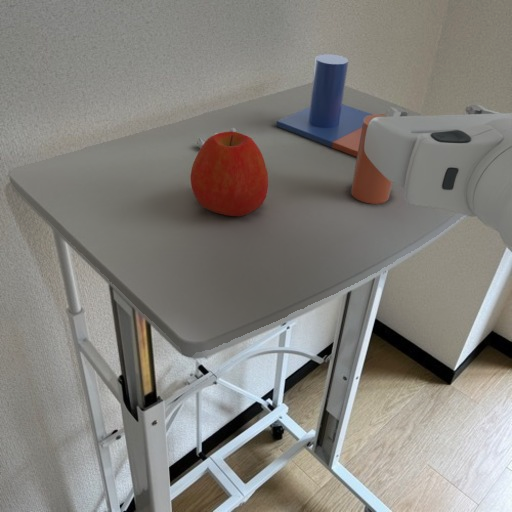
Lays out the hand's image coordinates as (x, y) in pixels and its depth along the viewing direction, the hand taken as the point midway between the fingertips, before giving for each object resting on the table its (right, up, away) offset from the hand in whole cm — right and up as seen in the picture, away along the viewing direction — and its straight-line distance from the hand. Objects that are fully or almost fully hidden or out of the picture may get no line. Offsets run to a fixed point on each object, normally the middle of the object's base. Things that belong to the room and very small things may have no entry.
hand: (432, 112), depth 61 cm
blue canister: (-8, +8, +37) cm, 39 cm away
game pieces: (-26, +2, +30) cm, 40 cm away
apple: (-23, -9, +14) cm, 29 cm away
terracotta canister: (-3, -7, +19) cm, 20 cm away
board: (-2, +6, +36) cm, 36 cm away
